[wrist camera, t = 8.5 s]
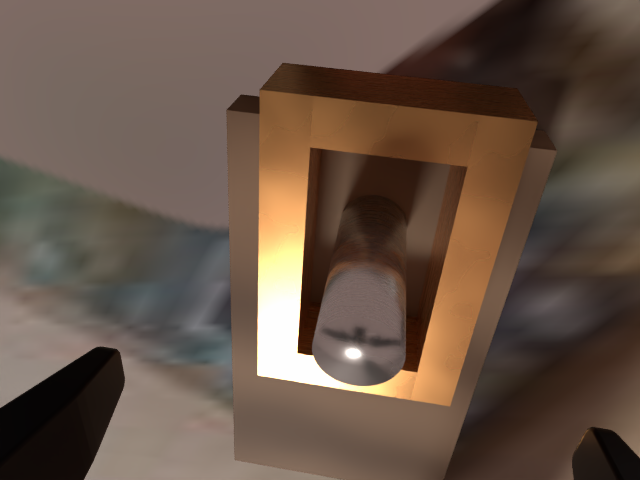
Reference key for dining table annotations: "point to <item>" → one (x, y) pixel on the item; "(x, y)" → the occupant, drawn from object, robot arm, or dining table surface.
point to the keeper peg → (365, 296)
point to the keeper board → (303, 398)
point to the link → (397, 142)
